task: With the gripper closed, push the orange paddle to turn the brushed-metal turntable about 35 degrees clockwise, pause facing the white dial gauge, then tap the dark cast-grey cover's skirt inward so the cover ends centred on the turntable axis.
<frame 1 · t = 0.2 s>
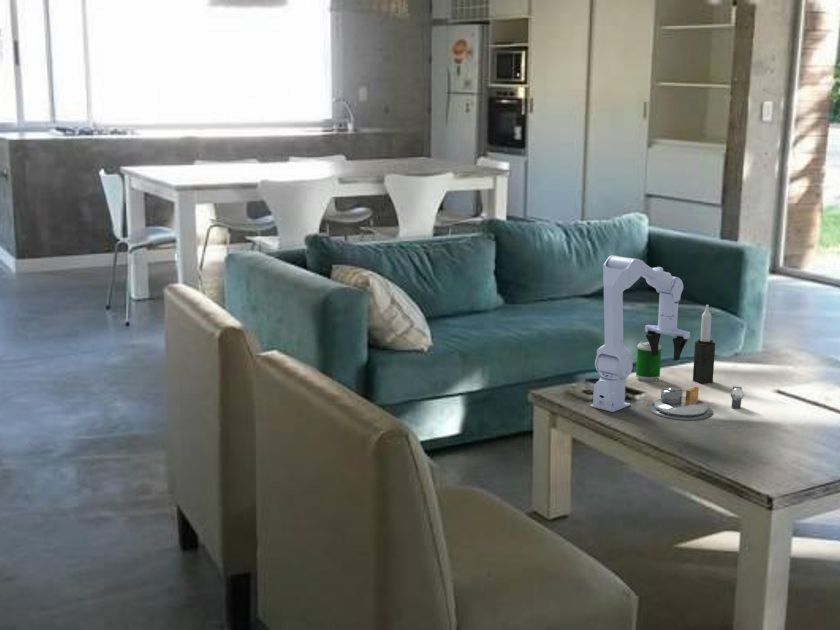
hand: (665, 357, 326), 10 cm above the table, fingers open, 7 cm apart
dial gauge: (736, 407, 309), on the table
soda can: (647, 379, 339), on the table
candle: (702, 381, 336), on the table
cover: (671, 401, 308), point 2 cm above the table, touching turntable
turntable base: (680, 410, 306), on the table
turntable: (682, 400, 306), point 3 cm above the table, hinge at 0.0°, touching cover
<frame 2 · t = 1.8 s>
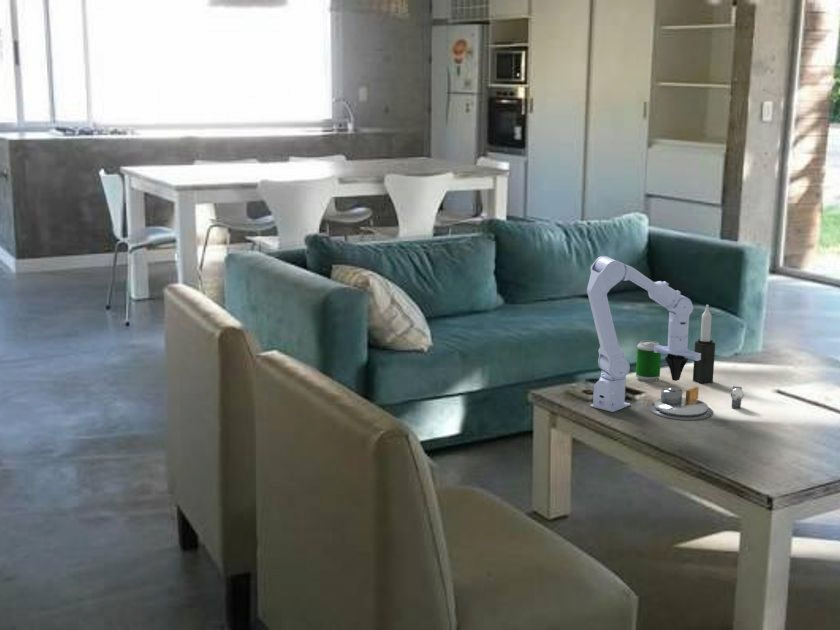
hand: (675, 379, 313), 7 cm above the table, fingers closed
nothing on the table moved.
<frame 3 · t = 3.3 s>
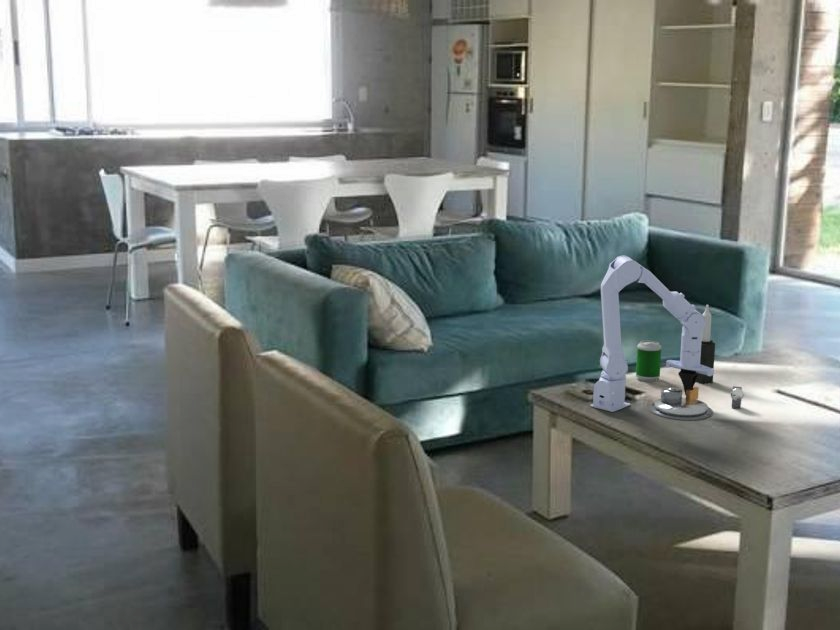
hand: (688, 394, 311), 3 cm above the table, fingers closed, pressing on turntable
turntable: (682, 400, 306), point 3 cm above the table, hinge at 0.0°, touching cover, gripper
everything else where it was.
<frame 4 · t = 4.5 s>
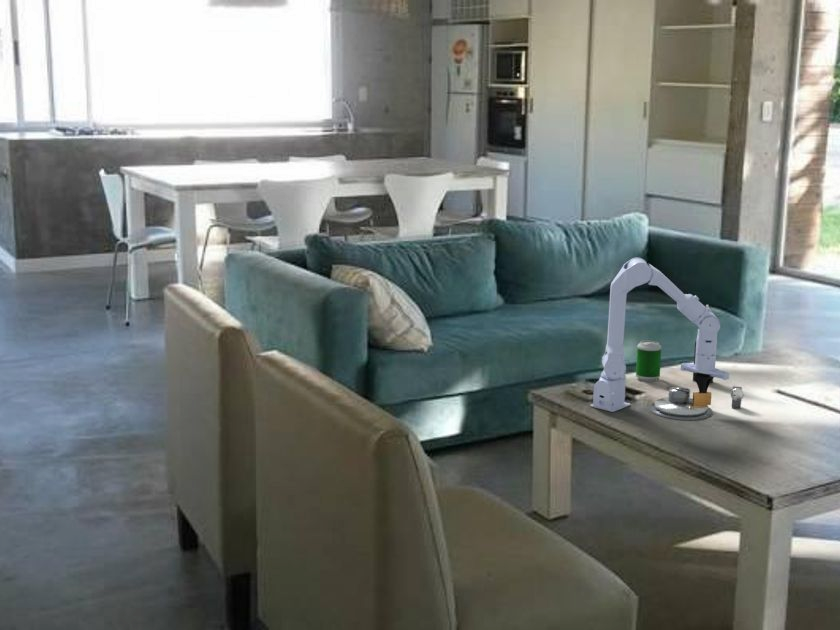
hand: (702, 398, 308), 3 cm above the table, fingers closed, pressing on turntable
cover: (678, 401, 309), point 2 cm above the table, touching turntable
turntable: (683, 400, 306), point 3 cm above the table, hinge at 43.5°, touching cover, gripper
everything else where it was.
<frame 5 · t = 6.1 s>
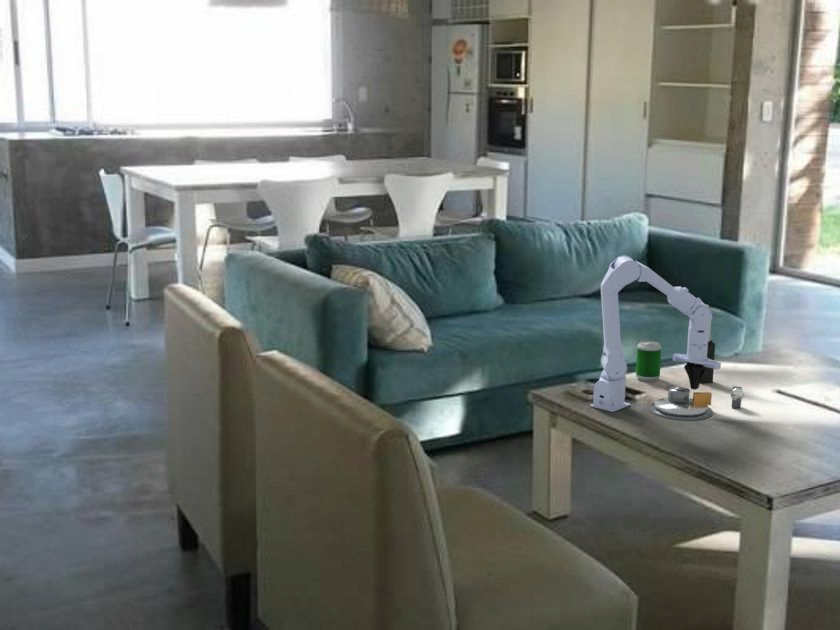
hand: (694, 388, 309), 5 cm above the table, fingers closed
turntable: (683, 400, 306), point 3 cm above the table, hinge at 45.1°, touching cover
everything else where it was.
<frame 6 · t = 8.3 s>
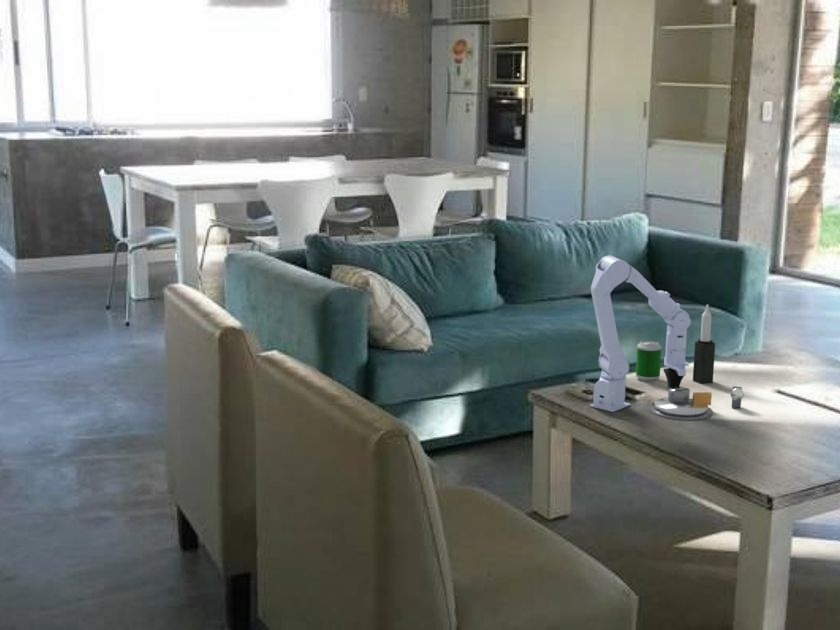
hand: (673, 392, 313), 3 cm above the table, fingers closed
cover: (678, 400, 309), point 2 cm above the table, touching gripper
turntable: (683, 400, 306), point 3 cm above the table, hinge at 45.1°
everything else where it was.
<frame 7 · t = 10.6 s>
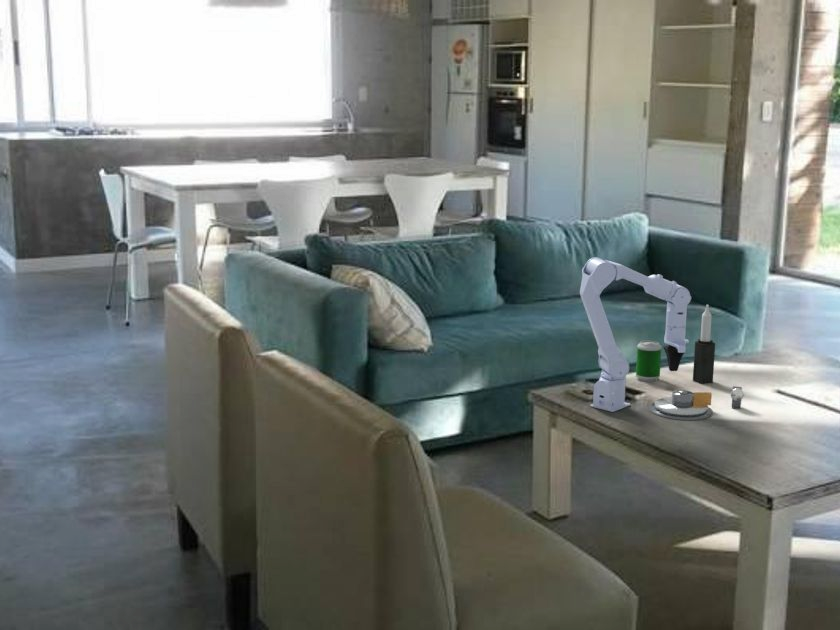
hand: (673, 370, 312), 10 cm above the table, fingers closed
cover: (682, 404, 306), point 2 cm above the table, touching turntable
turntable: (683, 400, 306), point 3 cm above the table, hinge at 45.1°, touching cover
everything else where it was.
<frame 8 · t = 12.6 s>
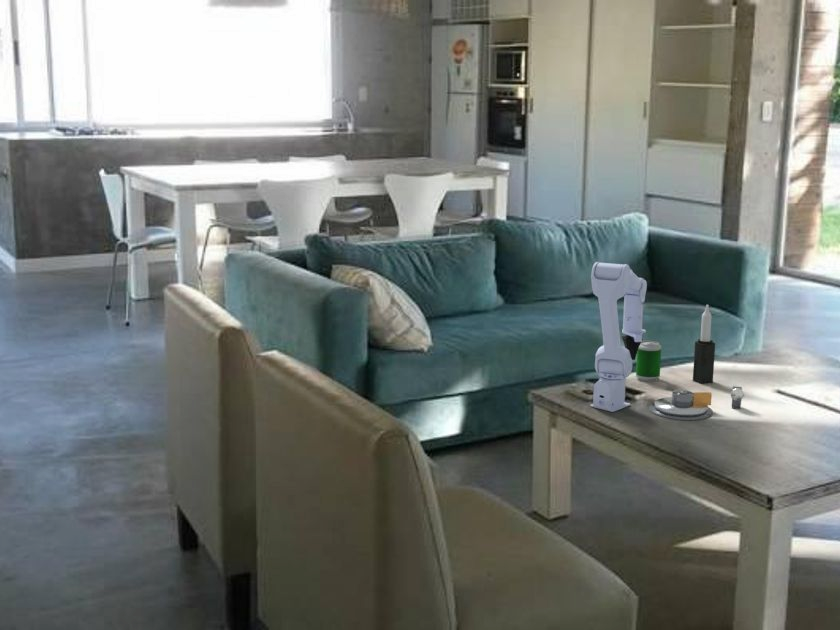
hand: (631, 359, 324), 10 cm above the table, fingers closed
nothing on the table moved.
at the end: turntable at +45° (first picture: +0°); cover 0.4 cm from the turntable (horizontally); cover tilted 0° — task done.
